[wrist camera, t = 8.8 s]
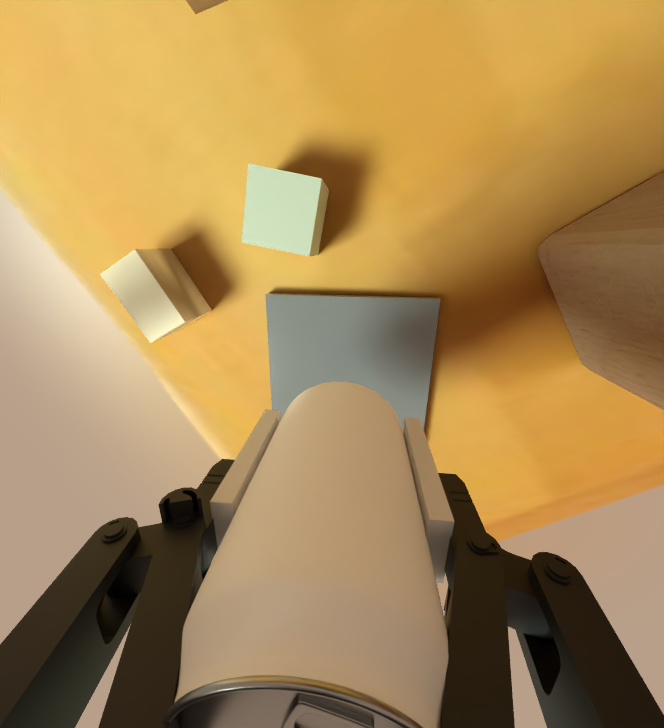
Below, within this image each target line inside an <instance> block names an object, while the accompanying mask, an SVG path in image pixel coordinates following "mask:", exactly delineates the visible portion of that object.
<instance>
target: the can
mask: <svg viewBox="0 0 664 728" xmlns="http://www.w3.org/2000/svg"><path fill="white" fill-rule="evenodd" d="M448 658H449V655H448V635H447V630H446V625H445V620H444V616H443V611H442V606H441V602H440V597H439V592H438V588H437V583H436V578H435V574H434V569H433V565H432V560H431V556H430V551H429V546H428V542H427V537H426V533H425V528H424V524H423V519H422V515H421V510H420V506H419V501H418V497H417V492H416V488H415V483H414V479H413V474H412V470H411V465H410V461H409V457H408V452H407V448H406V443H405V439H404V435H403V431H402V427H401V424H400V421H399V419H398V416H397V414H396V413H395V411H394V409H393V408H392V407H391V405H390V404H389V403H388V402H387V401H386V400H385V399H384V398H383V397H382V396H380V395H379V394H378V393H376V392H374V391H373V390H371V389H369V388H367V387H364V386H362V385H359V384H355V383H350V382H328V383H323V384H319V385H316V386H313V387H311V388H309V389H307V390H305V391H304V392H302V393H301V394H300V395H298V396H297V397H296V398H295V399H294V400H293V401H292V402H291V404H290V405H289V406H288V408H287V409H286V411H285V413H284V415H283V417H282V419H281V421H280V423H279V425H278V427H277V429H276V431H275V433H274V435H273V437H272V439H271V441H270V443H269V445H268V447H267V449H266V451H265V453H264V455H263V457H262V459H261V461H260V463H259V465H258V467H257V469H256V472H255V474H254V476H253V478H252V480H251V482H250V484H249V486H248V488H247V490H246V492H245V494H244V496H243V498H242V500H241V503H240V505H239V507H238V509H237V511H236V513H235V515H234V517H233V519H232V521H231V523H230V525H229V527H228V530H227V532H226V534H225V536H224V538H223V540H222V542H221V544H220V546H219V548H218V550H217V552H216V555H215V557H214V559H213V561H212V563H211V565H210V567H209V569H208V571H207V574H206V576H205V578H204V580H203V582H202V584H201V586H200V588H199V591H198V593H197V595H196V597H195V600H194V602H193V604H192V606H191V608H190V611H189V613H188V615H187V618H186V621H185V624H184V627H183V633H182V650H181V661H180V671H179V680H178V687H177V693H176V697H175V701H174V704H173V705H172V706H171V707H170V708H169V709H168V710H167V712H166V713H165V715H164V717H163V719H162V722H163V723H164V724H168V723H170V722H171V720H172V719H173V718H174V717H175V716H176V715H177V714H178V713H179V717H180V723H181V728H440V727H441V717H442V707H443V698H444V689H445V679H446V671H447V666H448Z"/></svg>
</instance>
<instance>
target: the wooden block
mask: <svg viewBox="0 0 664 728" xmlns="http://www.w3.org/2000/svg"><path fill="white" fill-rule="evenodd" d="M538 257H539V260H540V262H541V265H542V267H543V270H544V272H545V275H546V277H547V279H548V282H549V284H550V287H551V289H552V292H553V294H554V297H555V299H556V302H557V304H558V306H559V309H560V311H561V314H562V316H563V319H564V321H565V324H566V326H567V328H568V331H569V333H570V336H571V338H572V341H573V343H574V346H575V348H576V351H577V353H578V355H579V358H580V360H581V363H582V364H583V365H584V366H585V367H587V368H588V369H589V370H590V371H592V372H594V373H596V374H598V375H600V376H602V377H603V378H605V379H607V380H609V381H611V382H613V383H615V384H616V385H618V386H620V387H622V388H624V389H626V390H628V391H629V392H631V393H633V394H635V395H637V396H639V397H640V398H642V399H644V400H646V401H648V402H650V403H652V404H653V405H655V406H657V407H659V408H661V409H663V410H664V172H662V173H660V174H658V175H657V176H655V177H653V178H651V179H649V180H648V181H646V182H644V183H642V184H641V185H639V186H637V187H635V188H633V189H632V190H630V191H628V192H626V193H624V194H623V195H621V196H619V197H617V198H615V199H614V200H612V201H610V202H608V203H607V204H605V205H603V206H601V207H599V208H598V209H596V210H594V211H592V212H590V213H589V214H587V215H585V216H583V217H581V218H580V219H578V220H576V221H574V222H573V223H571V224H569V225H567V226H565V227H564V228H562V229H560V230H558V231H556V232H555V233H553V234H551V235H550V236H549V237H548V238H547V239H546V240H545V241H544V242H543V243H541V244H540V245H539V246H538Z"/></svg>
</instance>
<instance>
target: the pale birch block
mask: <svg viewBox="0 0 664 728" xmlns="http://www.w3.org/2000/svg"><path fill="white" fill-rule="evenodd" d="M100 275H101V276H102V278H103V279H104V281H105V282H106V283H107V285H108V286H109V287H110V289H111V290H112V291H113V293H114V294H115V295H116V297H117V298H118V299H119V301H120V302H121V304H122V305H123V306H124V308H125V309H126V310H127V312H128V313H129V314H130V316H131V317H132V318H133V320H134V321H135V322H136V324H137V325H138V327H139V328H140V329H141V331H142V332H143V333H144V335H145V336H146V337H147V339H148V340H149V341H150V343H152V342H154V341H156V340H158V339H161V338H163V337H165V336H167V335H169V334H172V333H174V332H176V331H178V330H181V329H183V328H184V327H186V326H188V325H189V324H191V323H193V322H194V321H196V320H198V319H199V318H201V317H203V316H204V315H206V314H207V313H209V312H211V311H212V310H211V308H210V307H209V305H208V304H207V302H206V301H205V299H204V298H203V296H202V295H201V293H200V291H199V290H198V288H197V287H196V285H195V284H194V282H193V281H192V279H191V278H190V276H189V275H188V273H187V272H186V270H185V269H184V267H183V266H182V264H181V263H180V261H179V260H178V258H177V257H176V255H175V254H174V252H173V251H172V249H134V250H133V251H132V252H130V253H129V254H127V255H126V256H125V257H123V258H122V259H121V260H119V261H118V262H116V263H115V264H114V265H112V266H111V267H109V268H108V269H107V270H105V271H104V272H102V273H101V274H100Z"/></svg>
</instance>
